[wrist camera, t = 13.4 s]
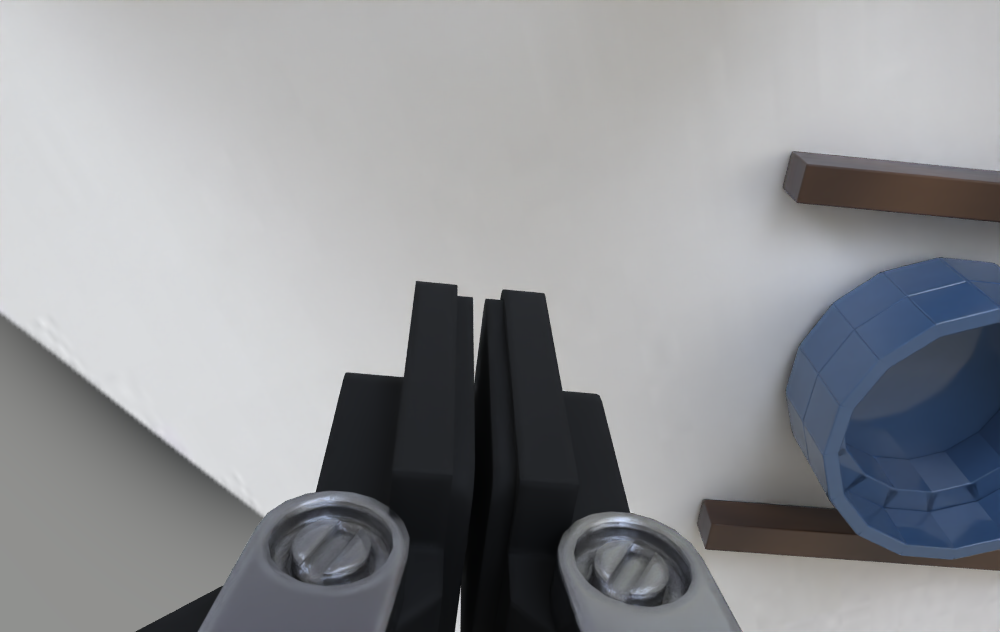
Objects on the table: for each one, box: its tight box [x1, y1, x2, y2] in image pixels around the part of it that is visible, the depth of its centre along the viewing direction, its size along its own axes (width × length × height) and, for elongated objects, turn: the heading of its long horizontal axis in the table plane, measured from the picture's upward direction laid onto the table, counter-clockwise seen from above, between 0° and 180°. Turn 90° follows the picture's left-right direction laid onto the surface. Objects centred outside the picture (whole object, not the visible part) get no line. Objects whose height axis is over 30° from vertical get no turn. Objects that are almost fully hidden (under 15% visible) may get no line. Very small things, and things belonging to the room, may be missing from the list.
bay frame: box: [697, 151, 1000, 571], centre depth 36 cm, size 16×18×2 cm
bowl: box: [786, 257, 1000, 560], centre depth 35 cm, size 11×11×5 cm
